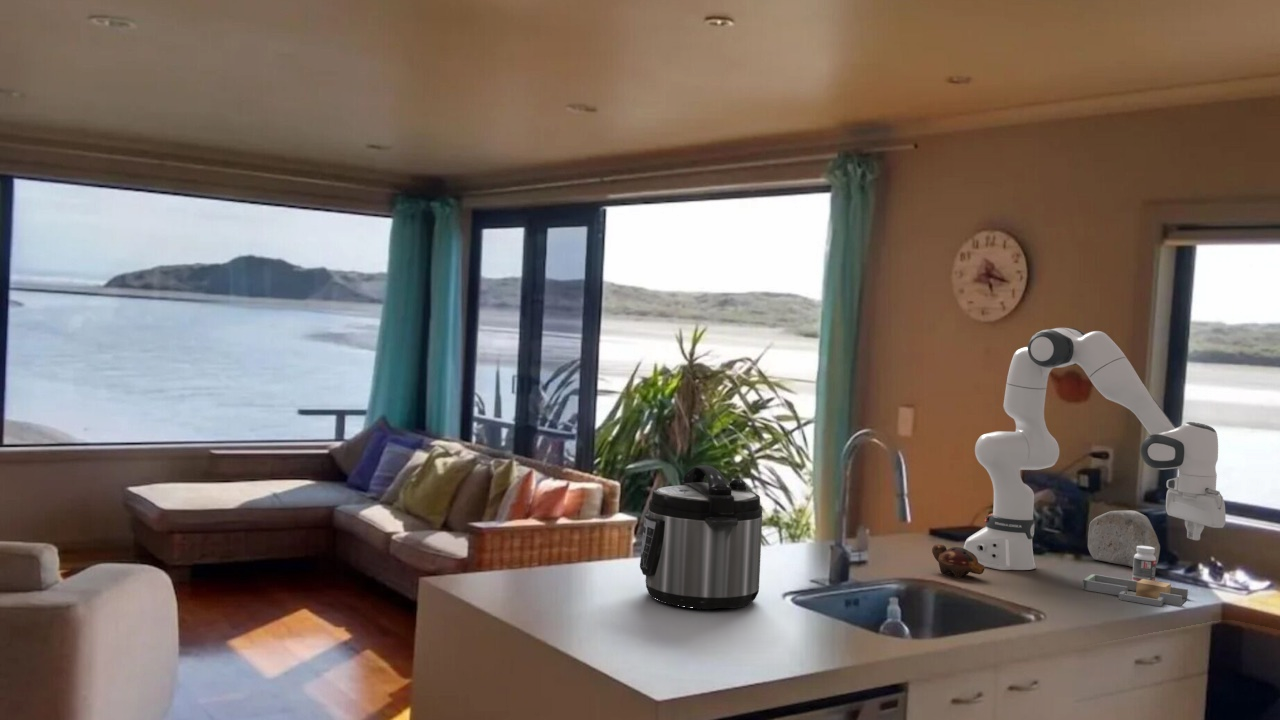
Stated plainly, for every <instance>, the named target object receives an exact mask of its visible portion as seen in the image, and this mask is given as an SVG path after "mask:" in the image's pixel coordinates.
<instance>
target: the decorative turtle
mask: <svg viewBox="0 0 1280 720" xmlns="http://www.w3.org/2000/svg"><path fill="white" fill-rule="evenodd" d="M931 548H932V549H931V553H932V555H933V557H934V559H935V560H936V561H937V563H938V566H939V569H940V570H939V571H940V573H941V574H942V575H943V574H945V575H947V574H949V573H952V574H953V576H955V577H956V578H957V577H960V578H962V576H967V575H969V573H971V574H976V575H982V574H983V573H984V571H985V568H986V567H985V566H984V565H982V564H980V563H978V559H977V557H976V556H975V555H974V554H973V553H972V552H970V551H968V550H966V549H964V547H957V546H953V547H950V548H948V549H947V546H946V545H944V544H942V543H937V544H934V545H933V547H931Z"/></svg>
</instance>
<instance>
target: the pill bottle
mask: <svg viewBox="0 0 1280 720" xmlns="http://www.w3.org/2000/svg"><path fill="white" fill-rule="evenodd" d="M1136 550H1137V554H1135V555H1134V563H1133V567H1132V576H1131V577H1132V579H1131V580H1134V581H1140V580H1142V579H1146V580H1152V581H1156V567H1157V566H1156V565H1157V564H1156V557H1155V556H1154V555H1153V554H1154V553H1155V548H1153V547H1149V546H1137V549H1136Z"/></svg>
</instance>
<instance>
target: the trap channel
mask: <svg viewBox="0 0 1280 720" xmlns="http://www.w3.org/2000/svg"><path fill="white" fill-rule="evenodd" d="M1137 582H1138V581H1134V580H1132V579H1127V578H1122V577H1121V578H1120V577H1115V576H1109V575H1108V576H1107V575H1102V574H1097V573H1092V574H1090V575H1089V576H1087V577H1085V578H1084V579H1083V580H1082V590H1084V591H1088V592H1089V591H1090V592H1094V593H1096V592H1097V593H1101V594H1108V595H1113V596H1118V600H1119V599H1120V601H1126V602H1133V603H1136V604H1137V603H1138V604H1144V605H1150V606H1156V607H1161V606H1163V605H1164V604H1166V605H1173V606H1178V607H1181V606H1183V604H1184V603H1185V602H1187V600H1188V595H1189V594H1188V593H1189V589H1188V588H1183V587H1176V586H1171V588H1170V594H1169V593H1162V592H1160V597H1159V598H1158V599H1152V598H1146V597H1140V596H1136V595H1133V594H1128V590H1129V591H1133V592H1136V587H1137Z"/></svg>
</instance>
